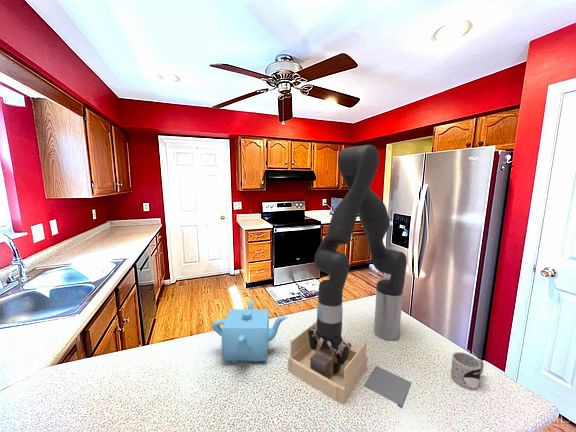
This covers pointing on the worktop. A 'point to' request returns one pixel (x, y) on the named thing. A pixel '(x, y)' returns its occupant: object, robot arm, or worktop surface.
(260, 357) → the teakettle
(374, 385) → the mat
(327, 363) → the bar
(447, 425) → the worktop surface
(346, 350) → the robot arm
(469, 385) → the mug
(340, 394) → the carton
